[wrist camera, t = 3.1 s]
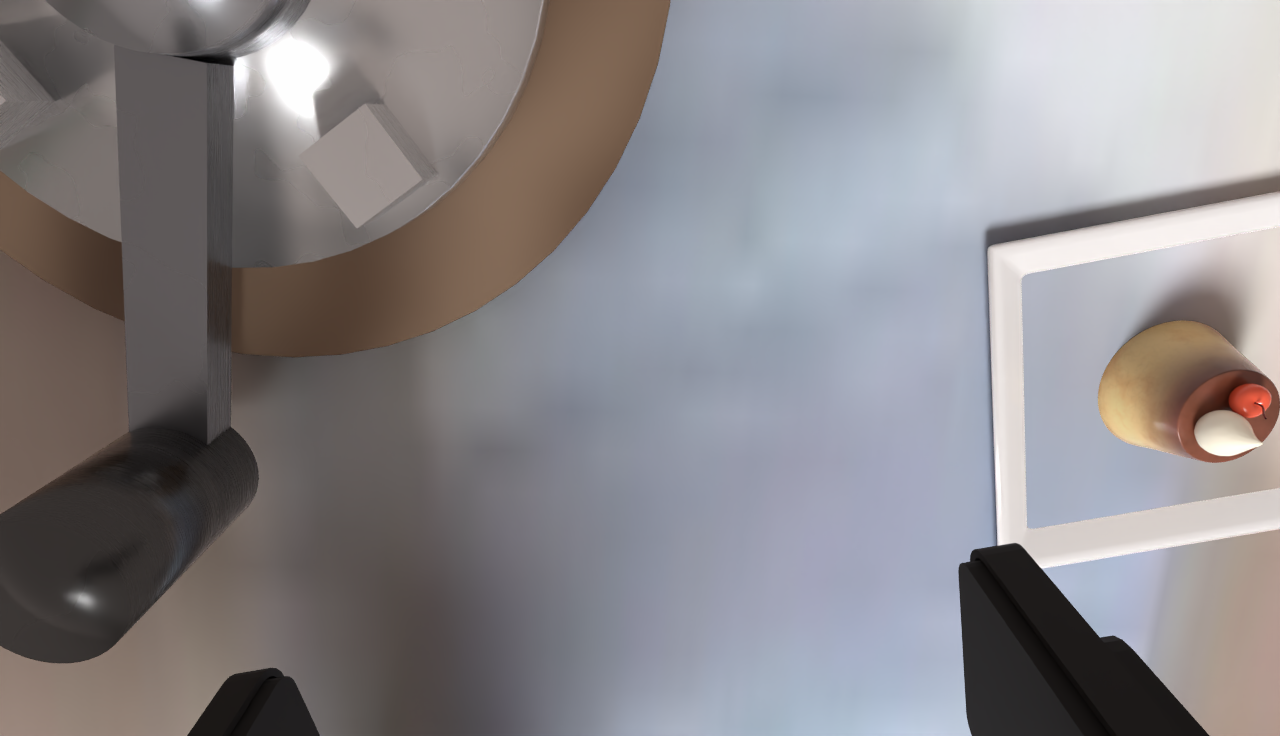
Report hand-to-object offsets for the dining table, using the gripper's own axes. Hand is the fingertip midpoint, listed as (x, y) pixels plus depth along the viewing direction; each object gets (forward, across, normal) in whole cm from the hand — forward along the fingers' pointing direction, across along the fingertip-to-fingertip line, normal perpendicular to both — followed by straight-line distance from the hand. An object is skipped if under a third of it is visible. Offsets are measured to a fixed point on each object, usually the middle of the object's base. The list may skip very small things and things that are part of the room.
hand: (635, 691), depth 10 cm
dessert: (+16, -17, +5) cm, 24 cm away
